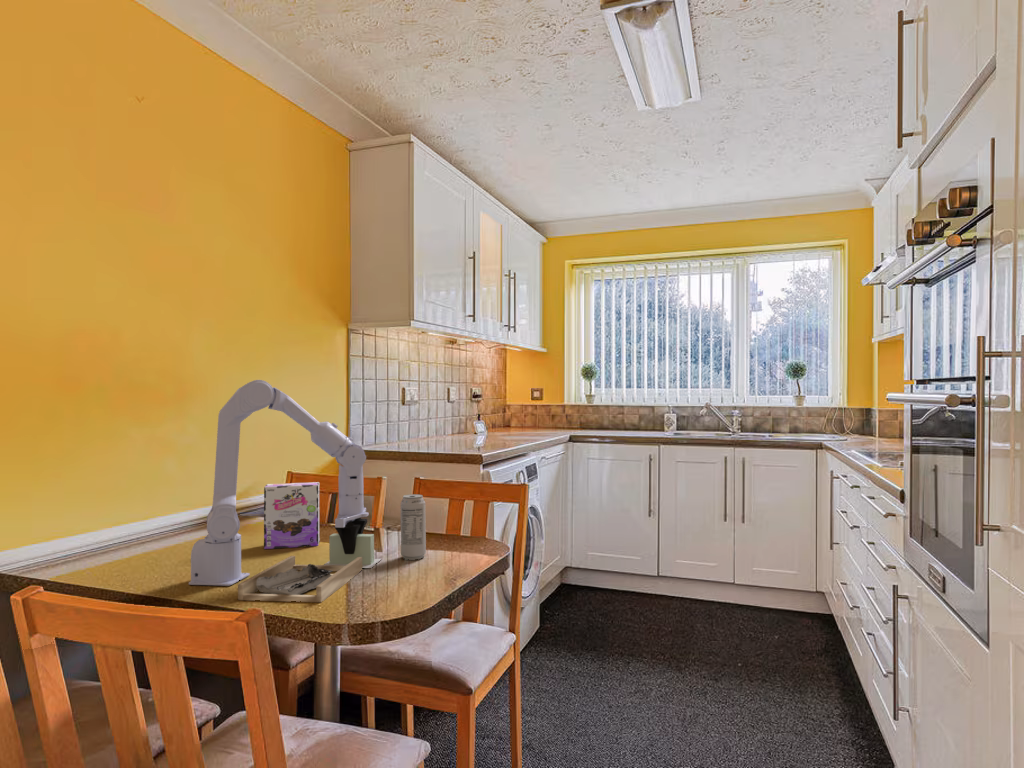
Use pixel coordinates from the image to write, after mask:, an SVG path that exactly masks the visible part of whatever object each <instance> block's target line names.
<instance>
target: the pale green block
mask: <svg viewBox="0 0 1024 768" xmlns="http://www.w3.org/2000/svg"><path fill="white" fill-rule="evenodd" d="M357 557H362V564H368V565H371V564H372V563H373V562H374V559H375V534H374V533H366V534H365V533H362V534H357V538H356V546H355V552H354V554H345V553H344V549H343V545H342V542H341V538H340V536H339V534H338V533H332V534H330V535H329V561H330V564H349V563H350V562H352V561H353V560H355V559H356V558H357Z"/></svg>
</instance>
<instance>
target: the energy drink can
mask: <svg viewBox="0 0 1024 768" xmlns="http://www.w3.org/2000/svg"><path fill="white" fill-rule="evenodd" d="M426 519H427V518H426V501H425V499H424V496H423V494H417V493H415V494H414V493H413V494H411V493H410V494H404V495H403V496H402V500H401V501H400V555H401V556H402V558H403V559H404V558H405V559H404V560H406V559H409V560H408V561H415V559H418V560H422V559H423V558H424V557H425V555H426V553H427V550H426V549H427V545H426V544H427V540H426V539H427V538H426V537H427V536H426V535H427V534H426V533H427V531H426V529H427V525H426V524H427V523H426ZM421 558H422V559H421Z"/></svg>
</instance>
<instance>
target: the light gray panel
mask: <svg viewBox="0 0 1024 768" xmlns="http://www.w3.org/2000/svg"><path fill="white" fill-rule="evenodd" d="M381 559H382V558H374V562H373V563H372V564H371V565H368V564H362V568H371V569H373V568H374V567H375V566H376V565H377V564H376V563H378V562H379V561H380V560H381ZM381 561H382V560H381ZM381 561H380V562H381ZM380 562H379V563H380ZM379 563H378V564H379ZM375 564H376V565H375ZM323 565H341V566H346V565H347V564H330V560H329V561H327V562H325V563H324V564H323ZM374 565H375V566H374ZM373 566H374V567H373ZM372 567H373V568H372Z"/></svg>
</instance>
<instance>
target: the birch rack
mask: <svg viewBox="0 0 1024 768" xmlns="http://www.w3.org/2000/svg"><path fill="white" fill-rule="evenodd" d="M314 565H315V566H316V567H318V569H325V570H333V571H332V572H335V573H330V575H331V576H330V577H329V578H328V579H326V580H325V581H323V582H322V583H321V584H319V585H318V586H316V588H315V590H316V593H315V594H316V595H315V594H311V595H310V594H299V595H288V594H270V593H257V592H259V591H258V590H259V589H258V587H257V584H256V583H257V579H258V578H259V577H271V576H273V577H274V576H275V575H276V574H277V573H280V572H281V573H282V572H283V573H284V572H286V571H288V570H290V569H293V568H294V569H298V570H297V571H301V570H303V567H304V568H306V567H307V566H308V564H296V555H289V556H288V557H286V558H284V559H282V560H281V561H278V562H276V563H275V564H273V565H271V566H269V567H268V568H266V569H264V570H263V571H261V572H258V573H256V574H254V575H253V576H251V577H249V578H247V579H246V580H244V581H242V582H240V583H239V584H237V600H238V601H255V600H260V601H261V602H262V601H263V602H291V601H296V602H299V603H323V602H324V601H325V600H327V599H328V598H329V597H330V596H331V595H333V594H334V593H335V592H337V591H338V590H339V589H340V588H342V587H343V586H345V585H346V584H347V583H348V582H349V581H351V580H352V579H354V576H355V575H356V576H357V575H358V574H360V573H361V572H362V571H363V569H362V557H357V558H356V559H355V560H353V561H352V562H350V563H349V564H347V565H346V566H341V565H324V564H314ZM361 570H362V571H361ZM360 571H361V572H360ZM359 572H360V573H359ZM307 576H309V574H308V575H307ZM356 576H355V577H356ZM350 579H351V580H350ZM255 592H256V593H255ZM260 601H259V602H260ZM300 601H301V602H300ZM322 601H323V602H322Z"/></svg>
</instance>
